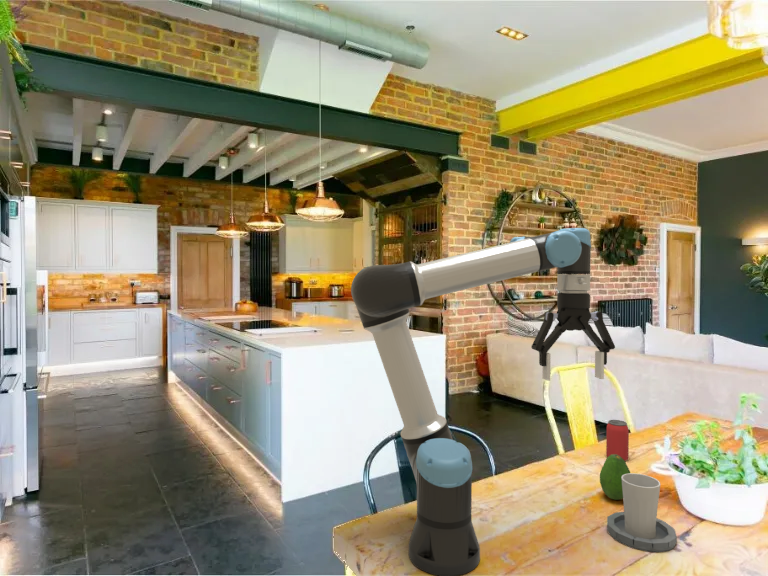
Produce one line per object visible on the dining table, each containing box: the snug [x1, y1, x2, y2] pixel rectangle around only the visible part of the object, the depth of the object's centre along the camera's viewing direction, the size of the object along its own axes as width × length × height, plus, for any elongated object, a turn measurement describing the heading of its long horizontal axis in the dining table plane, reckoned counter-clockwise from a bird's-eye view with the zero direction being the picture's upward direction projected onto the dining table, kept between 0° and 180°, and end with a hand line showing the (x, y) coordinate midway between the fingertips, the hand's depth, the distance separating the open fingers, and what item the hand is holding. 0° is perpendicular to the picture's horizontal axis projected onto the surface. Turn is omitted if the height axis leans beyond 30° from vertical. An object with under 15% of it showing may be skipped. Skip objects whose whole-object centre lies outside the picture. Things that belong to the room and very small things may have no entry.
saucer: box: [606, 511, 678, 553], centre depth 113 cm, size 14×14×2 cm
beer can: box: [605, 419, 630, 462], centre depth 160 cm, size 7×7×12 cm
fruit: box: [599, 454, 631, 501], centre depth 131 cm, size 8×8×12 cm
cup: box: [621, 472, 661, 539], centre depth 113 cm, size 8×8×12 cm
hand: (573, 378), depth 120 cm, fingers open, 13 cm apart
